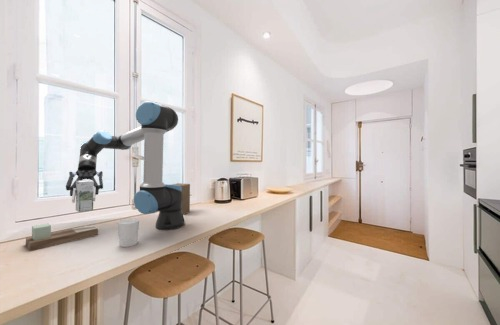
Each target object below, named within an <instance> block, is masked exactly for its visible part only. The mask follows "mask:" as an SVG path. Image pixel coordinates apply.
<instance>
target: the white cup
mask: <svg viewBox="0 0 500 325" xmlns="http://www.w3.org/2000/svg"><path fill="white" fill-rule="evenodd" d="M117 225H118V227H117V228H118V230H117V231H118V232H117V233H118V240H119V241H118V242H119V244H118V245H119V247H121V248H129V247H133V246H135V245H137V244H138V242H139V241H138V240H139V238H138V237H139V229H140V228H139V226H140V220H139V218H126V219H122V220H120V221H119V220H118V222H117Z"/></svg>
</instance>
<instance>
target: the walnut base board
mask: <svg viewBox="0 0 500 325" xmlns="http://www.w3.org/2000/svg"><path fill="white" fill-rule="evenodd" d="M98 235H99V228H98V227H97V226H94V225H93V224H89V225H83V226H78V227H73V228H68V229H63V230H57V231H53V232H52V231H51V237H50V238H45V239H40V240H35V241H34V240H33V239H32V235H31V236H27V237H26V236H25V246H26V247H27V249H28V250H29V252H31V251H35V250H39V249H44V248H48V247H53V246H56V245H60V244H64V243H69V242H73V241H79V240H83V239H86V238H91V237H95V236H98Z"/></svg>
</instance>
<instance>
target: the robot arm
mask: <svg viewBox="0 0 500 325" xmlns="http://www.w3.org/2000/svg"><path fill="white" fill-rule="evenodd" d="M135 119H136V121H137V122H138V123H139V125H140V126H139V127H136V128H134V129H132V130H129V131H127V132H125V133H124V134H121V135H118V136H116V135H114V136H113V135H111V134H110V133H109V132H108V131H105V130H98V131H97V132H96V133H94V134H93V136H92V137H91V138H90V139H89V140H87V142H86V141H85V142H86V143H84V142H83V143H84V144H83V145H82V144H81V145H82V146H80V148H81V149H79V156H78V157H79V158H78V159H79V160H78V165H77V170H76V172H75V171H74V172H73V171H69V176H68V179H67V181H66V184H65V190H66V191H69V196H70V197H71V203H72V204H74V203H75V204H76V181H81V180H92V181H94V191H93V202H96V196H97V195H99V192H100V190H102V189H104V183H103V176H104V175H103V171H102V170H101V171H97V158H98V154H99V153H101V151H102V150H104V149H109V150H123V151H124V150H130V149H131V147H132V146H133V145H135V144H137V143H139V142H142V141H143V142H144V143H143V146H144V147H143V177H142V178H143V179H142V180H143V182H142V183H141V184H140V185H139V190H138V191H137V192H136V193H135V194H134V197H133V204H134V207H135V209H136V210H137V211H138V212H139V213H141V214H143V215H151V214H155V213H157V212H159V213H158V216H157V219H156V222H155V228H156V229H158V230H164V231H167V230H175V229H179V228H182V227H184V226H185V223H186V222H185V217H184V215H183V214H182V187H181V186H180V185H172V184H165V183H164V182H163V176H164V175H163V172H164V171H163V168H164V167H163V166H164V136H165V134H166V133H167V132H169V131H172V130H174V128H176V127H177V126H178V124H179V116H178V114H177V112H176V111H175V110H174V109H173V108H171V107H169V106H165V105H163V104H160V103H158V102H157V101H156V102H154V101H150V100H146V101H143V102H142V103H140V105H138V107H137V109H136V111H135ZM76 175H77V178H76V179H75V180H74V178H75V177H76ZM95 176H97V177H98V181H99V183H98V182H97V181H96V179H95ZM73 180H74V182H73Z"/></svg>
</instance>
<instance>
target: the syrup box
mask: <svg viewBox="0 0 500 325" xmlns="http://www.w3.org/2000/svg"><path fill="white" fill-rule="evenodd" d="M75 181H76V180H75ZM93 191H94V181H92V180H90V179H83V180H81V181H76V196H75V211H77V212H79V213H82V212H89V211H94V201H93Z"/></svg>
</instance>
